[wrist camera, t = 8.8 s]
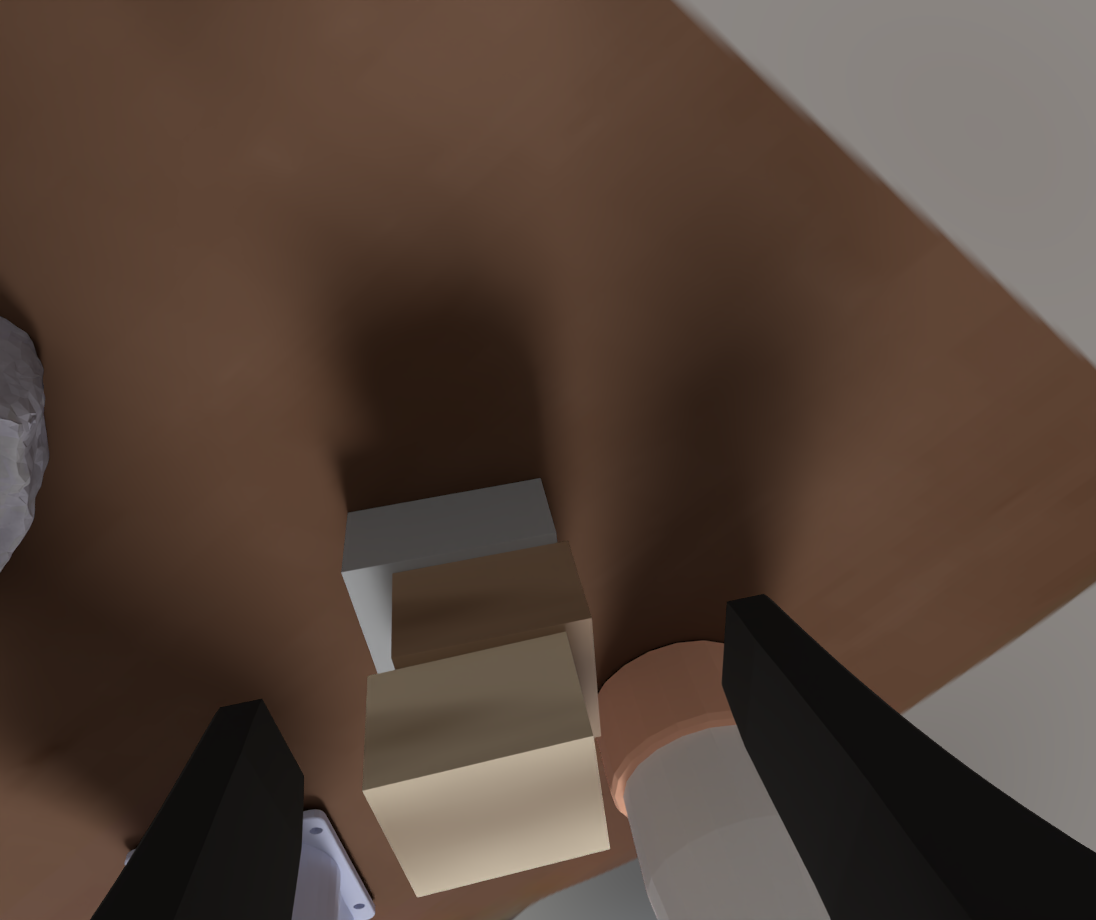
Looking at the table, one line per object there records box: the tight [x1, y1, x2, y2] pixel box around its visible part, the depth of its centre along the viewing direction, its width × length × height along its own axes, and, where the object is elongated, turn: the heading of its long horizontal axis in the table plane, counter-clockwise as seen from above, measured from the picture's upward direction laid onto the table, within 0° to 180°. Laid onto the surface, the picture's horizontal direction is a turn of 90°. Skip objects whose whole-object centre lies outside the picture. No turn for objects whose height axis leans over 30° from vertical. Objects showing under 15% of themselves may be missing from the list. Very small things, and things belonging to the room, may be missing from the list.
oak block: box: [362, 632, 610, 897], centre depth 17 cm, size 5×5×3 cm
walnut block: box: [391, 541, 601, 738], centre depth 20 cm, size 5×5×3 cm
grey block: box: [341, 478, 557, 674], centre depth 22 cm, size 6×6×3 cm
